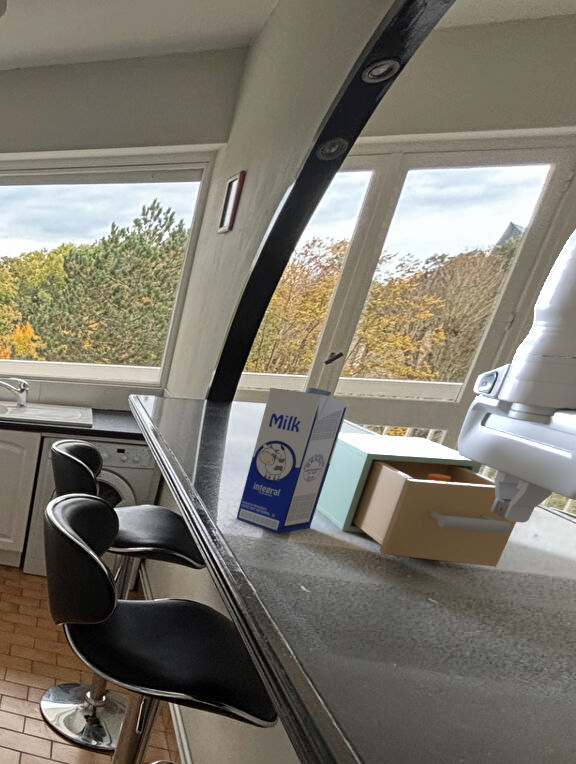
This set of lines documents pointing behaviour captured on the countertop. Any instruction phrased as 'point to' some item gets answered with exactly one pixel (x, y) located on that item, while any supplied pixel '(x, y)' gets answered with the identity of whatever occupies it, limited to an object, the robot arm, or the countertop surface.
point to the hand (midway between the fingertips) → (507, 517)
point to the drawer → (432, 513)
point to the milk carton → (291, 459)
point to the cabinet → (355, 464)
